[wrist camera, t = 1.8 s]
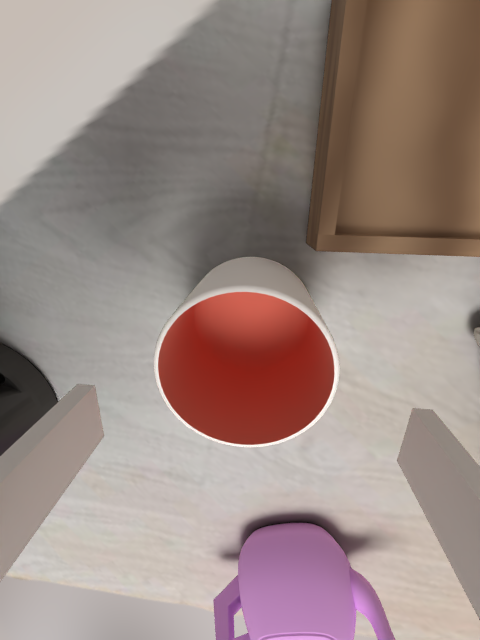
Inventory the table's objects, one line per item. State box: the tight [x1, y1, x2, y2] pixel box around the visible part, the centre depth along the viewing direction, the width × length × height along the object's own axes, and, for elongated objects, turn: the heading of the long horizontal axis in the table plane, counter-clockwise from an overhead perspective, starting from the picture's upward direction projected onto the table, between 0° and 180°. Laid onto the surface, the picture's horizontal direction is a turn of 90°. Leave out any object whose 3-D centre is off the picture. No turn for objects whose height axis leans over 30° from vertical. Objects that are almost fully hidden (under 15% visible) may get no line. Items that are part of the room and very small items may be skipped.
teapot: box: [214, 523, 395, 640], centre depth 30 cm, size 13×20×11 cm
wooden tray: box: [306, 0, 480, 257], centre depth 17 cm, size 14×14×4 cm
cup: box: [154, 257, 340, 447], centre depth 20 cm, size 10×10×10 cm
